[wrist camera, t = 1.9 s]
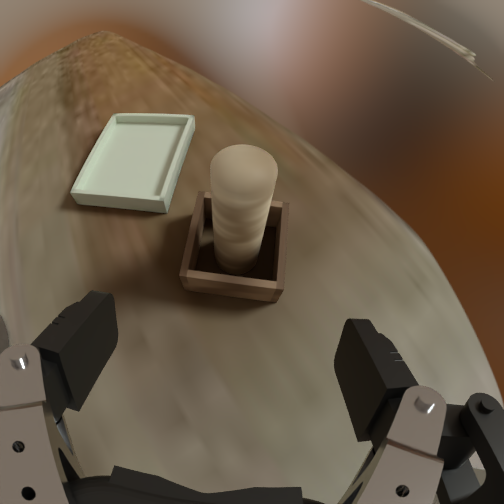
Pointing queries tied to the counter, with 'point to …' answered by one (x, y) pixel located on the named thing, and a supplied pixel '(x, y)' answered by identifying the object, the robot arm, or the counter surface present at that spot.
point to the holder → (228, 283)
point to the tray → (135, 162)
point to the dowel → (240, 204)
